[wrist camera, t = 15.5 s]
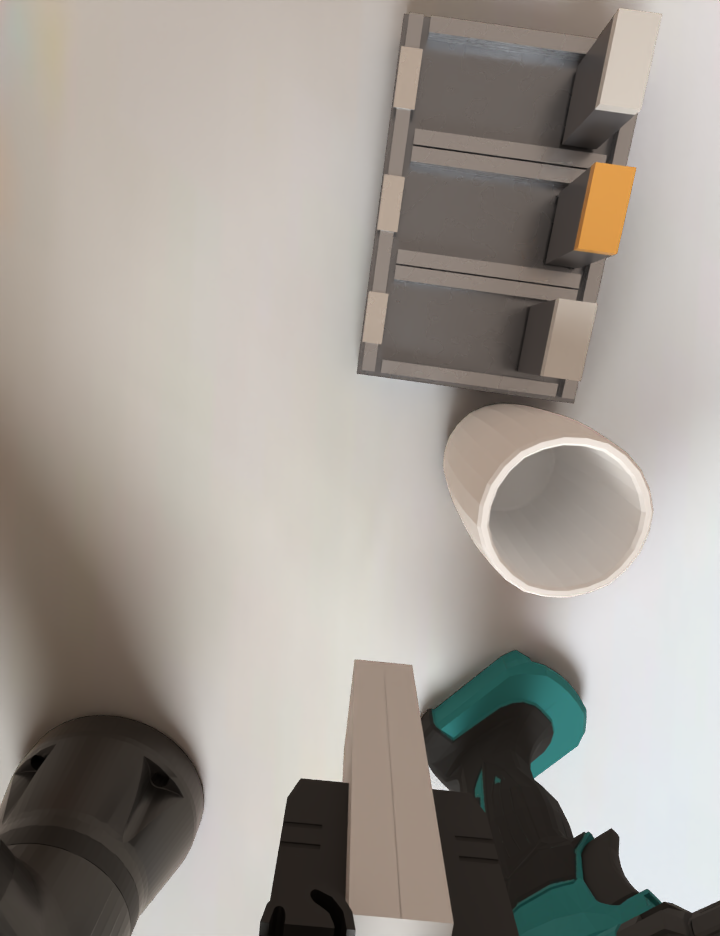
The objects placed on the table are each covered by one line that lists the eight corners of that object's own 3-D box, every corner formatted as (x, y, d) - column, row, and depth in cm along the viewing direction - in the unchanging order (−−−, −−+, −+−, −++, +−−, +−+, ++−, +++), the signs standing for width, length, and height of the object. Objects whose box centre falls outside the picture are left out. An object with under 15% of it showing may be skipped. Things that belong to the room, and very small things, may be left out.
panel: (357, 371, 37) (356, 374, 34) (402, 38, 33) (405, 3, 30) (560, 399, 37) (578, 404, 34) (631, 70, 33) (660, 39, 30)
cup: (413, 442, 38) (434, 497, 24) (515, 371, 37) (599, 386, 23) (479, 536, 40) (535, 638, 26) (580, 471, 38) (696, 541, 25)
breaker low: (517, 371, 34) (543, 376, 29) (530, 305, 33) (559, 298, 28) (549, 375, 34) (580, 381, 29) (562, 310, 33) (597, 303, 28)
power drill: (617, 559, 40) (1001, 897, 15) (691, 641, 41) (1155, 1074, 17) (357, 765, 44) (335, 1282, 20) (431, 834, 45) (497, 1400, 21)
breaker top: (562, 144, 31) (599, 104, 26) (577, 66, 31) (619, 8, 25) (596, 149, 31) (640, 109, 26) (612, 71, 31) (662, 13, 25)
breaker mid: (545, 263, 33) (577, 248, 28) (559, 192, 32) (596, 162, 27) (578, 268, 33) (616, 253, 28) (593, 196, 32) (636, 167, 27)
